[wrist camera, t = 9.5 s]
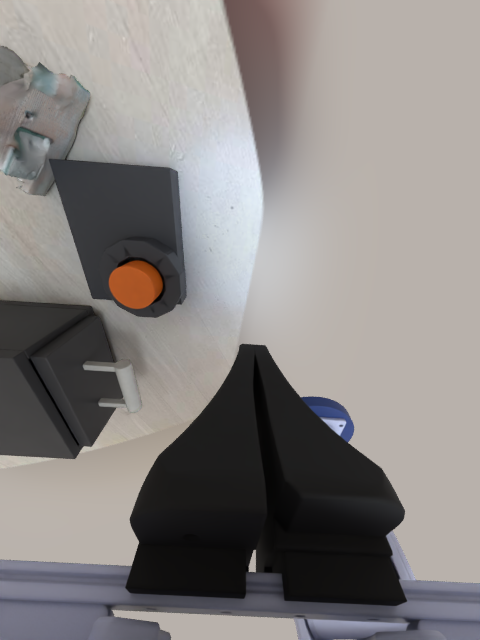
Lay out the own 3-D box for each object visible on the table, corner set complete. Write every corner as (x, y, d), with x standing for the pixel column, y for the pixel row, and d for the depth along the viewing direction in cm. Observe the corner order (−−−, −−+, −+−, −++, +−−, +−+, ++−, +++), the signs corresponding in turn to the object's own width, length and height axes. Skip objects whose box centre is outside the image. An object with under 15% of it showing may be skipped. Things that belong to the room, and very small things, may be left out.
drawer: (142, 319, 20) (104, 361, 15) (157, 397, 26) (134, 449, 20) (-39, 307, 20) (-147, 345, 15) (16, 388, 26) (-47, 439, 20)
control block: (192, 302, 20) (183, 319, 17) (105, 296, 20) (80, 312, 17) (185, 172, 15) (170, 163, 12) (68, 163, 15) (23, 152, 12)
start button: (165, 301, 17) (157, 310, 15) (126, 298, 17) (114, 307, 15) (160, 261, 15) (151, 268, 14) (117, 258, 15) (103, 264, 14)
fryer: (91, 306, 21) (12, 358, 14) (119, 392, 27) (75, 459, 20) (-55, 296, 20) (-213, 344, 13) (7, 385, 27) (-79, 450, 20)
